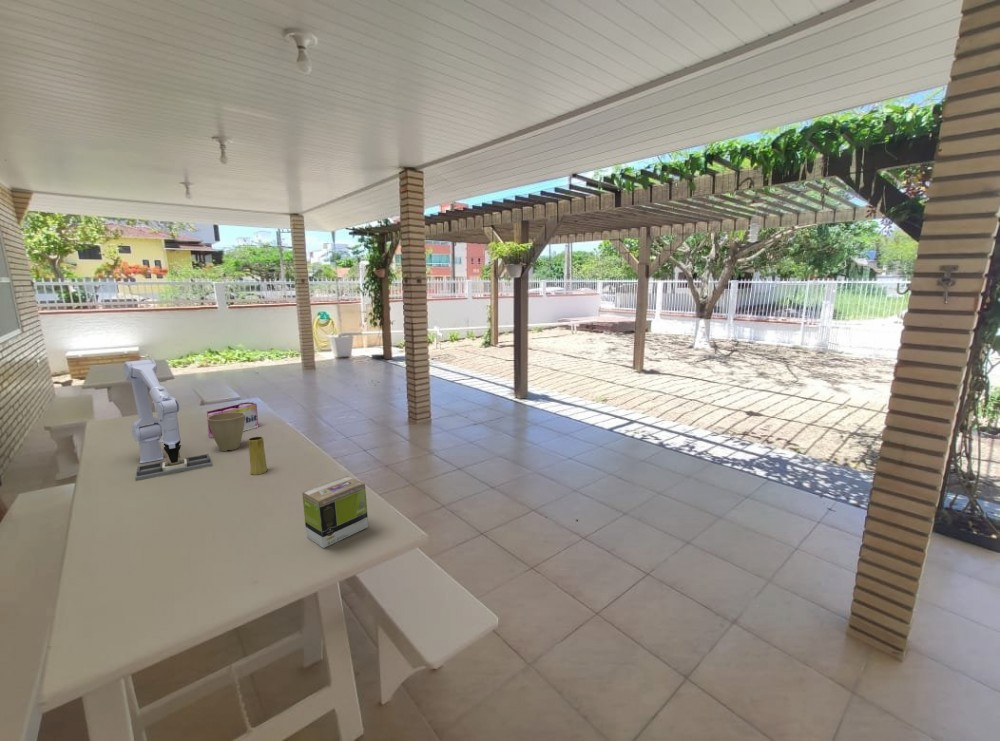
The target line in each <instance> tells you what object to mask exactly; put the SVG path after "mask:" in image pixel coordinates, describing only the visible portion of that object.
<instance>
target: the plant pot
mask: <svg viewBox="0 0 1000 741" xmlns="http://www.w3.org/2000/svg"><path fill="white" fill-rule="evenodd" d="M206 419H208V421H207V424H208V423H209V426H210V429H211V432H212V435H213V437H214V438H213V439H214V442H215V443H216V445H217V447H218V449H219V450H220V451H221V450H222V452H228V451H227V450H232V451H234V450H233V449H235V450H237V449H236V448H238V447H240V444H241V443H242V442H241V441H242V438H243V435H244V434H243V433H244V432H243V429H244V422H245V413H241V412H229V413H221V414H216V415H212V416H209V417H208V418H206ZM238 449H239V448H238Z"/></svg>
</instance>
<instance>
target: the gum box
mask: <svg viewBox="0 0 1000 741" xmlns="http://www.w3.org/2000/svg"><path fill="white" fill-rule="evenodd" d="M229 412H241V413H245V422H244V429H243V430H245V429H248V428H251V427H254V426H257V425H259V417H258V406H257V403H254V402H243V403H239V404H235V405H231V406H226V407H222V408H216V409H212V410H209V411H208V410H207V411H206V417H207V418H208V417H209V416H212V415H216V414H221V413H229ZM207 418H206V419H207ZM206 421H207V430H208V431H207V432H208V437H209V436H211V437H213V435H212V432H211V429H210V426H209V423H208V419H207V420H206ZM211 437H210V438H211Z"/></svg>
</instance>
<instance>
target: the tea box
mask: <svg viewBox="0 0 1000 741" xmlns="http://www.w3.org/2000/svg"><path fill="white" fill-rule="evenodd" d="M302 502H303V513H304V523H305V524H304V525H305V533H306V537H307V538H308V539H310V541H312V542H314V543H315V544H317V545H318V546H320V547H321V548H323V549H325V548H327V547H329V546H331V545H333V544H336V543H338V542H340V541H342V540H344V539H346V538H348V537H350V536H352V535H355V534H357V533H359V532H361V531H363V530H366V529H368V528H369V516H368V506H367V504H368V503H367V493H366V484H365V482H362V481H361V480H357V479H355V478H353V477H350V476H348V475H346V476H343V477H339V478H338V479H334V480H332V481H329V482H326V483H323V484H321V485H318V486H316V487H312V488H310V489H308V490H305V491H302Z"/></svg>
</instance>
